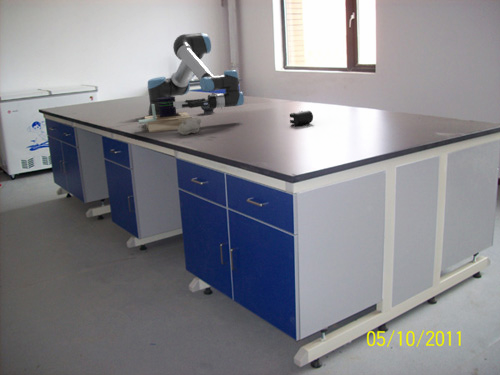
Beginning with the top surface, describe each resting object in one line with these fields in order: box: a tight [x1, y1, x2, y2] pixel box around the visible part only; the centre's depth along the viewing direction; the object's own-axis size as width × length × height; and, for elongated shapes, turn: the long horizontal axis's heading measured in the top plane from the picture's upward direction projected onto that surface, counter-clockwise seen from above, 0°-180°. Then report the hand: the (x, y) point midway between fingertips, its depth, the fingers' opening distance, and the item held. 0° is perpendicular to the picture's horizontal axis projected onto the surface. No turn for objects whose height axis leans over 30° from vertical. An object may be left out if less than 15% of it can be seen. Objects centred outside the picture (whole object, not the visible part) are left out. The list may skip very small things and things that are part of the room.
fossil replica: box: [177, 117, 202, 136], centre depth 256 cm, size 12×8×10 cm
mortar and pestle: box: [200, 92, 217, 115], centre depth 322 cm, size 11×9×12 cm
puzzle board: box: [144, 111, 193, 133], centre depth 284 cm, size 30×24×5 cm
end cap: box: [289, 110, 314, 127], centre depth 258 cm, size 10×7×7 cm
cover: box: [138, 104, 157, 125], centre depth 271 cm, size 9×9×9 cm
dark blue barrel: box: [158, 96, 178, 118], centre depth 290 cm, size 10×10×15 cm
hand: (174, 105), depth 274 cm, fingers open, 8 cm apart
